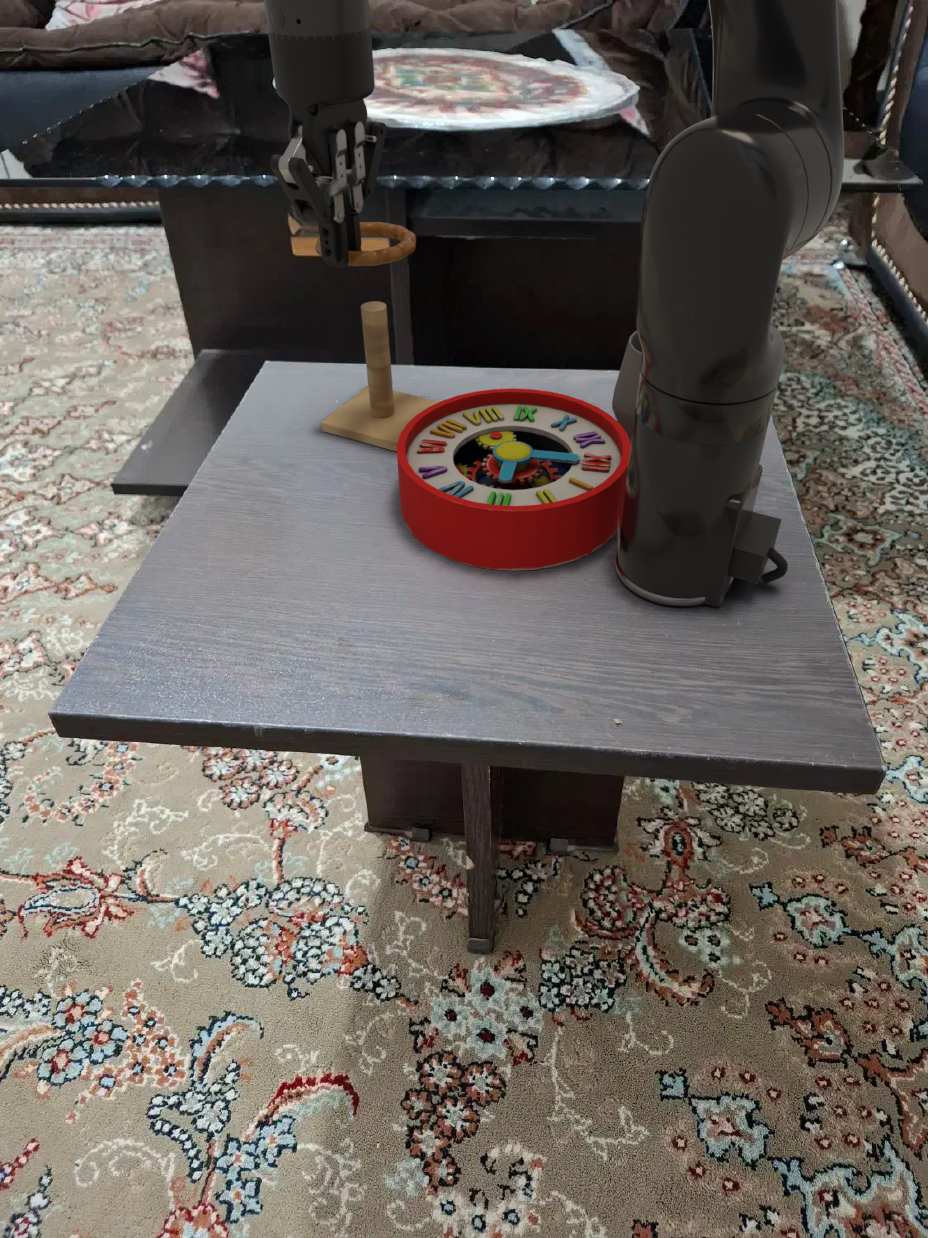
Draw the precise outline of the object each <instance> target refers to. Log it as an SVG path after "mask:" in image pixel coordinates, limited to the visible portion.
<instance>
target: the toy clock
mask: <svg viewBox="0 0 928 1238" xmlns="http://www.w3.org/2000/svg"><path fill="white" fill-rule="evenodd" d="M630 449H631V443H630V440H629V438H628V435H627V433H626V432H625V430H624V429H623V427H622V426H621V425H620V423H618V421H617V419H615V418H614V417H613V416H612V415H611V414H610V413H607V412H606V411H605V410H603V409H601V408H600V407H598V406H597V405H594V404H592V403H589V402H587V401H585V400H583V399H581V398H580V399H579V398H576V397H574V396H570V395H567V394H563V393H558V392H554V391H549V390H541V389H534V388H517V387H516V388H515V387H513V388H491V389H484V390H476V391H472V392H471V391H470V392H466V393H463V394H458V395H455V396H452V397H448V398H446V399H443V400H440V401H438V403H436V404H434V405H432V406H430V407H428V408H426V409H425V410H423V411H422V412H420V413H419V414H417V415H416V416H415V417H414V418H413V419H412V420H410V421H409V422H408V423H407V424H406V426H405V427H404V429H403V430H402V432H401V433H400V436H399V439H398V442H397V452H396V459H397V462H396V463H397V473H398V474H397V475H398V487H399V488H398V489H399V501H400V512H401V515H402V519H403V522H404V524H405V526H406V527H407V529H408V530H409V532H410V533H411V534H412V536H414V538H416V540H418V541H419V542H420V543H421V544H422V545H423V546H425V547H426V548H428V549H429V550H431V551H433V552H434V553H435V554H438V555H440V556H442V557H444V558H446V559H449V560H452V561H454V562H457V563H461V564H464V565H468V566H471V567H477V568H481V569H482V568H483V569H488V570H493V571H494V570H495V571H496V570H497V571H513V572H514V571H534V570H541V569H546V568H553V567H557V566H562V565H565V564H568V563H571V562H574V561H576V560H579V559H581V558H583V557H585V556H588V555H590V554H593V552H595V551H596V550H598V549H600V548H601V547H602V546H604V545H606V543H607V542H608V541H609V540H610V539H612V538H613V536H614V535H615V534H616V533H617V528H618V519H619V527H621V522H622V514H623V506H624V498H625V489H626V481H627V473H628V465H629V457H630Z"/></svg>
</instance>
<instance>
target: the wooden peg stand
mask: <svg viewBox="0 0 928 1238" xmlns="http://www.w3.org/2000/svg"><path fill="white" fill-rule="evenodd" d="M360 313H361V327H362V337H363V345H364V346H363V347H364V356H365V366H366V377H367V386H365V388H363V389H362V390H360V391H359V392H358V393H357V394H355V395H354V396H352V397H351V398H350V399H349V400H348V401H347V402H345V403H344V404H342V405H341V406H340V407H339V408H337V409H336V410H335V411H333V412H332V413H331V414H330V415H329V416H327V417H326V418H325V419H323V420H322V421H320V427H321V432H325V433H328V434H331V435H336V436H338V437H342V438H346V439H348V440H349V439H350V440H352V441H353V440H354V441H357V442H360V443H365V444H368V445H371V446H375V447H379V448H382V449H386V450H390V451H392V452H396V453H397V442H398V439H399V436H400V433H401V432H402V430H403V429H404V427H405V426H406V424H407V423H408V422H409V421H410V420H412V419H413V418H414V417H415V416H416V415H417V414H419V413H420V412H422V411H423V410H425V409H426V408H428V407H430V406H432V405H434V404H436V403H438V402H439V401H437V400H433V399H429V398H425V397H421V396H418V395H413V394H409V393H405V392H401V391H397V390H394V385H393V373H392V362H391V361H392V360H391V348H390V347H391V346H390V338H389V337H390V335H389V334H390V333H389V322H388V309H387V304H386V303H385V302H382V301H377V300H373V301H367V302H364V303H362V304H361V305H360Z"/></svg>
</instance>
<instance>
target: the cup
mask: <svg viewBox="0 0 928 1238" xmlns="http://www.w3.org/2000/svg"><path fill="white" fill-rule="evenodd" d="M641 361H642V346H641V343H640V340H639V337H638V333H637V330H635V331H634V332H633V333H632V334H631V335H630V336H629V338H628V341H627V344H626V347H625V351H624V356H623V359H622V362H621V365H620V370H619V371H618V372H619V373H618V376H617V379H616V382H615V386H614V390H613V394H612V401H611V408H612V412H613V414H614V417H615V418H616V419H615V420H616V421H617V422H618V423H620V425H621V426H622V427H623V429H624V430H625V432H626V433H627V435H628V438H629V440H630V443H631V441H632V433H633V424H634V416H635V408H636V401H637V392H638V384H639V376H640V369H641Z"/></svg>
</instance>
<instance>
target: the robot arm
mask: <svg viewBox="0 0 928 1238" xmlns="http://www.w3.org/2000/svg"><path fill="white" fill-rule="evenodd" d="M263 5H264V13H265V21H266V28H267V36H268V42H269V49H270V50H269V51H270V57H271V65H272V72H273V79H274V80H273V81H274V87H275V91H276V94H277V95H278V97H279V98H281V99H282V100H283V101H284V102H285V103H286V104H287V107H288V108H289V120H288V126H287V127H288V128H287V134H288V138H289V141H290V142H289V143H288V146H287V147H286V149H285V151H284V153H283V154H273V155H272V156H271V158H270V162H269V163H270V164H269V166H270V169H271V171H272V172H273V174H274V176H275V177H276V179H277V181H278V182H279V184H280V186H281V188H282V190H283V191H284V193H285V194H286V196H287V198H288V199H289V201H290V202H291V205H292V206H293V208H294V209H295V211H296V212H297V215H298V216H299V217H300V218H303V219H310V220H314V221H316V223H317V228H318V236H319V237H320V243H321V244H320V245H321V254H322V256H321V257H322V259H323V262H324V264H325V265H326V266H329V267H333V268H337V269H338V268H339V269H344V268H345V267H346V266H347V267H348V264H349V252H348V250H349V251H362V237H361V236H360V235H361V232H360V222H361V221H360V213H361V212H362V211H363V209H364V201H365V199H368V200H371V199H372V198H373V197H374V193H375V188H376V183H377V180H378V175H379V170H380V165H381V161H382V155H383V152H384V151H383V150H384V146H385V140H386V136H387V124H385V123H384V122H382V121H376V120H372V119H371V118H370V117H369V116H368V109H367V105H366V102H365V100H364V99H366V98H368V97H369V96H370V95H372V94H373V92H374V90H375V86H376V85H375V84H376V83H375V69H374V68H375V67H374V53H373V39H372V25H371V12H370V11H371V10H370V0H263ZM708 6H709V14H710V23H711V36H712V98H711V99H712V101H711V115H710V116H711V117H708V118H706V119H703V120H701V121H699V122H696V123H694V124H693V125H691V126H688V127H686V128H685V129H684V130H682V131H681V132H680V133H678V134H676V136H675V137H673V138H672V139H671V140H670V141H669V142H668V144H667V145H666V146H665V147H664V149H663V150H662V151H661V152H660V154H659V156H658V158H657V160H656V162H655V164H654V166H653V168H652V171H651V174H650V177H649V180H648V183H647V186H646V190H645V196H644V200H643V206H642V214H641V223H640V232H639V243H638V260H637V273H636V274H637V275H636V288H635V289H636V290H635V291H636V292H635V305H634V306H635V307H634V309H635V310H634V317H635V319H634V320H635V328H636V331H637V333H638V337H639V340H640V343H641V346H642V361H641V369H640V376H639V384H638V392H637V401H636V408H635V416H634V424H633V433H632V441H631V449H630V457H629V465H628V473H627V481H626V489H625V498H624V506H623V514H622V522H621V525H620V526H619V519H618V528H617V531H616V533H617V550H616V555H615V561H614V562H615V564H614V567H615V570H616V574H617V577H618V578H619V579H620V581H621V582H622V584H624V586H625V587H626V588H628V589H629V590H630V591H632V592H633V593H634V594H636V595H637V596H639V597H641V598H644V599H646V600H649V601H651V602H654V603H657V604H662V605H666V606H674V607H693V606H699V605H708V606H711V607H714V608H718V607H720V606H721V605H722V602H723V601H724V598H725V596H726V594H727V592H728V591H729V589H730V588H731V586H732V585H733V582H734V578H735V579H738V580H742V581H745V582H749V583H751V584H756V585H758V583H759V582H760V579H761V582H763V583H764V584H769V583H771V582H774V581H776V580H778V579H781V578H783V577H784V576H785V575H786V573H787V572H788V568H789V565H788V562H787V560H786V559H785V558H784V557H783V556H782V554H780V553H779V552H778V551H777V550H776V549H775V546H776V541H777V539H778V538H777V537H778V534H779V530H780V526H781V523H782V518H779V517H776V516H771V515H768V514H764V513H759V512H757V511H754V507H755V504H756V499H757V496H758V491H759V487H760V483H761V478H762V474H763V469H764V467H763V465H762V464H760V463H761V457H762V454H763V448H764V444H765V441H766V436H767V432H768V428H769V423H770V420H771V415H772V411H773V408H774V407H773V406H774V403H775V399H776V394H777V390H778V386H779V382H780V377H781V373H782V370H783V365H784V362H785V361H784V360H785V354H786V343H785V340H784V337H783V335H782V333H781V332H780V330H779V329H778V328H776V327H775V326H774V325H773V324H772V323H771V322H772V317H773V313H774V312H773V311H774V306H775V299H776V295H777V289H778V284H779V278H780V273H781V268H782V264H783V261H785V260H786V259H787V258H789V257H790V256H792V255H794V254H796V253H798V252H799V251H800V250H801V249H803V248H804V247H805V246H807V245H808V244H809V243H811V242H812V241H813V240H814V239H815V238H816V237H817V236H818V235H819V234H820V232H821V231H822V230H823V228H824V227H825V226H826V225H827V223H828V221H829V220H830V218H831V216H832V214H833V212H834V210H835V207H836V205H837V203H838V200H839V197H840V194H841V190H842V185H843V180H844V170H845V169H844V168H845V136H844V133H845V132H844V115H843V113H844V112H843V99H842V98H843V97H842V82H841V61H840V60H841V59H840V39H839V37H840V36H839V11H838V10H839V7H838V0H708ZM324 193H327V194H328V197H329V203H328V201H327V199H326V197H325V195H324ZM769 560H770V561H771V562H772V563H773V564H775V566H776V568H774V569H773V570H770V571H767V572H765V573H763V572H764V570H765V568H766V566H767V564H768V562H769Z"/></svg>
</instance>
